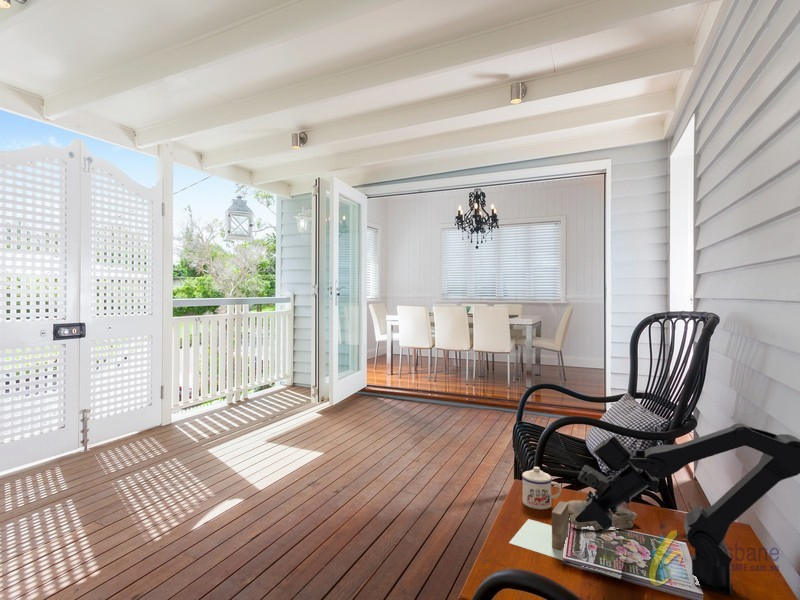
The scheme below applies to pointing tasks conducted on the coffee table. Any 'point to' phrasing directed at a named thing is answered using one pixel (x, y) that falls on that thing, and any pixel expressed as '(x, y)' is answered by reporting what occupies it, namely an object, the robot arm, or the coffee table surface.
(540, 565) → the coffee table surface
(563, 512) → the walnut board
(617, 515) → the grey rock
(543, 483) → the teacup with lid
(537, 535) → the sage mat
